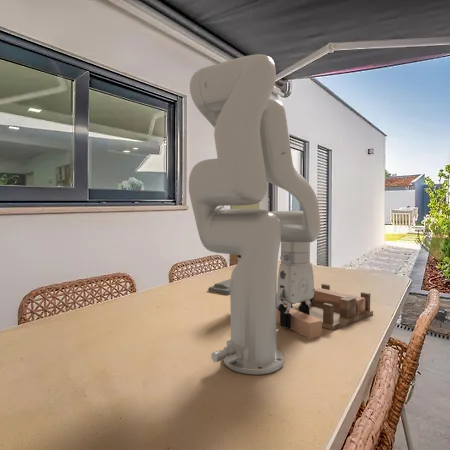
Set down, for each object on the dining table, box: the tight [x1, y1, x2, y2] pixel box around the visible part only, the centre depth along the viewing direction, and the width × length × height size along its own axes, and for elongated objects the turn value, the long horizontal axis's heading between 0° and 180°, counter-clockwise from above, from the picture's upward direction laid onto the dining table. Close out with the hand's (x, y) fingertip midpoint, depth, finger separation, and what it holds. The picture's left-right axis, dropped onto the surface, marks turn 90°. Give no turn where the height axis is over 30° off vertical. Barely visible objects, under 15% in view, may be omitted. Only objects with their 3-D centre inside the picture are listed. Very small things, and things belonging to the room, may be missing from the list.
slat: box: [277, 305, 323, 339], centre depth 92 cm, size 16×4×4 cm, turn 28°
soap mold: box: [207, 278, 231, 296], centre depth 135 cm, size 10×20×4 cm, turn 145°
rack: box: [284, 283, 374, 331], centre depth 102 cm, size 20×18×6 cm
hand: (294, 323), depth 92 cm, fingers open, 6 cm apart
